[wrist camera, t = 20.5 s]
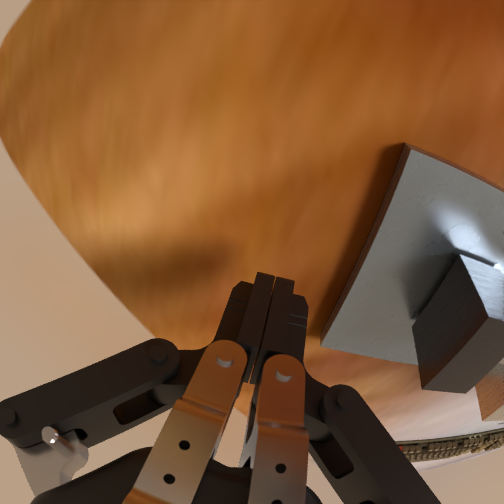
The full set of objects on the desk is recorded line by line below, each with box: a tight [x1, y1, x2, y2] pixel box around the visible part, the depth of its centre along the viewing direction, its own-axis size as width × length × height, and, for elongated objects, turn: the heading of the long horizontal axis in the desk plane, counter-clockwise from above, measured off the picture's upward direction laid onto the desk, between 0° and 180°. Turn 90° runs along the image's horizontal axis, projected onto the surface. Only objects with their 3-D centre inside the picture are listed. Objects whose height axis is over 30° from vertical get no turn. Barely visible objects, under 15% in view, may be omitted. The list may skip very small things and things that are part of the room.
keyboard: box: [395, 423, 504, 462], centre depth 26 cm, size 22×9×2 cm, turn 93°
